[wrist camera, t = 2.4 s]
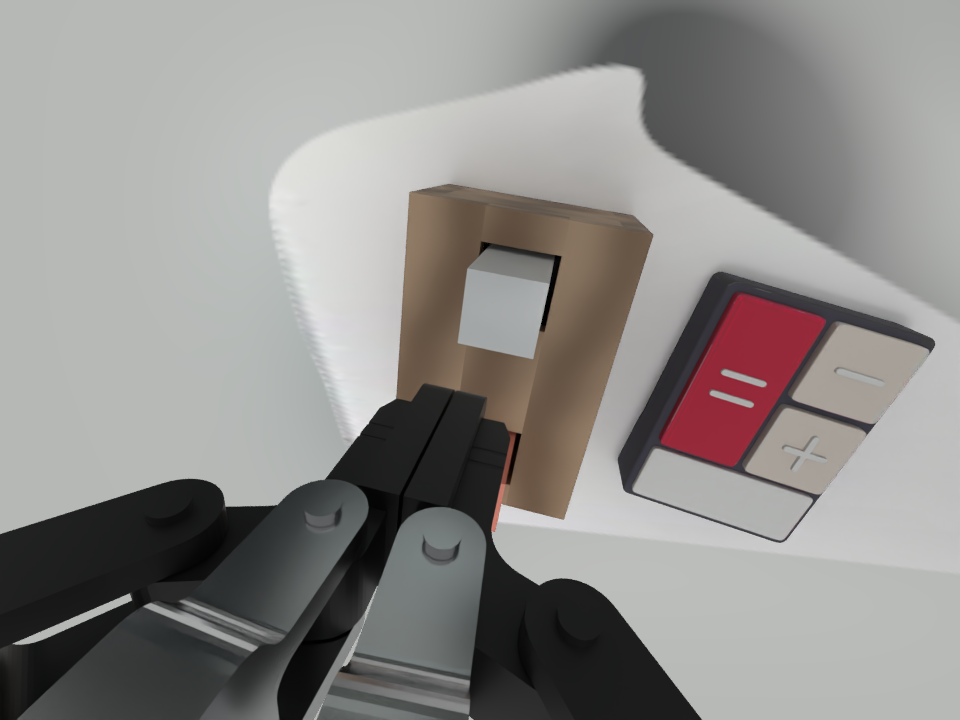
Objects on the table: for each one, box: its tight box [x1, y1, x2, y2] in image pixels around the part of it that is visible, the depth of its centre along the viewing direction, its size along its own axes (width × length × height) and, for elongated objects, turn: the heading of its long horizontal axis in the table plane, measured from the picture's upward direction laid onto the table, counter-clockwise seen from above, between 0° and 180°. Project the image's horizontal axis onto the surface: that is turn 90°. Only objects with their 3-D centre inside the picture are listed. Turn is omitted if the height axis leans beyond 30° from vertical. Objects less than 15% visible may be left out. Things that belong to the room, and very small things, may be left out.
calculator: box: [618, 272, 935, 543], centre depth 27 cm, size 11×4×15 cm
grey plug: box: [458, 243, 555, 359], centre depth 20 cm, size 3×3×7 cm
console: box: [396, 184, 653, 520], centre depth 26 cm, size 11×17×7 cm, turn 172°
